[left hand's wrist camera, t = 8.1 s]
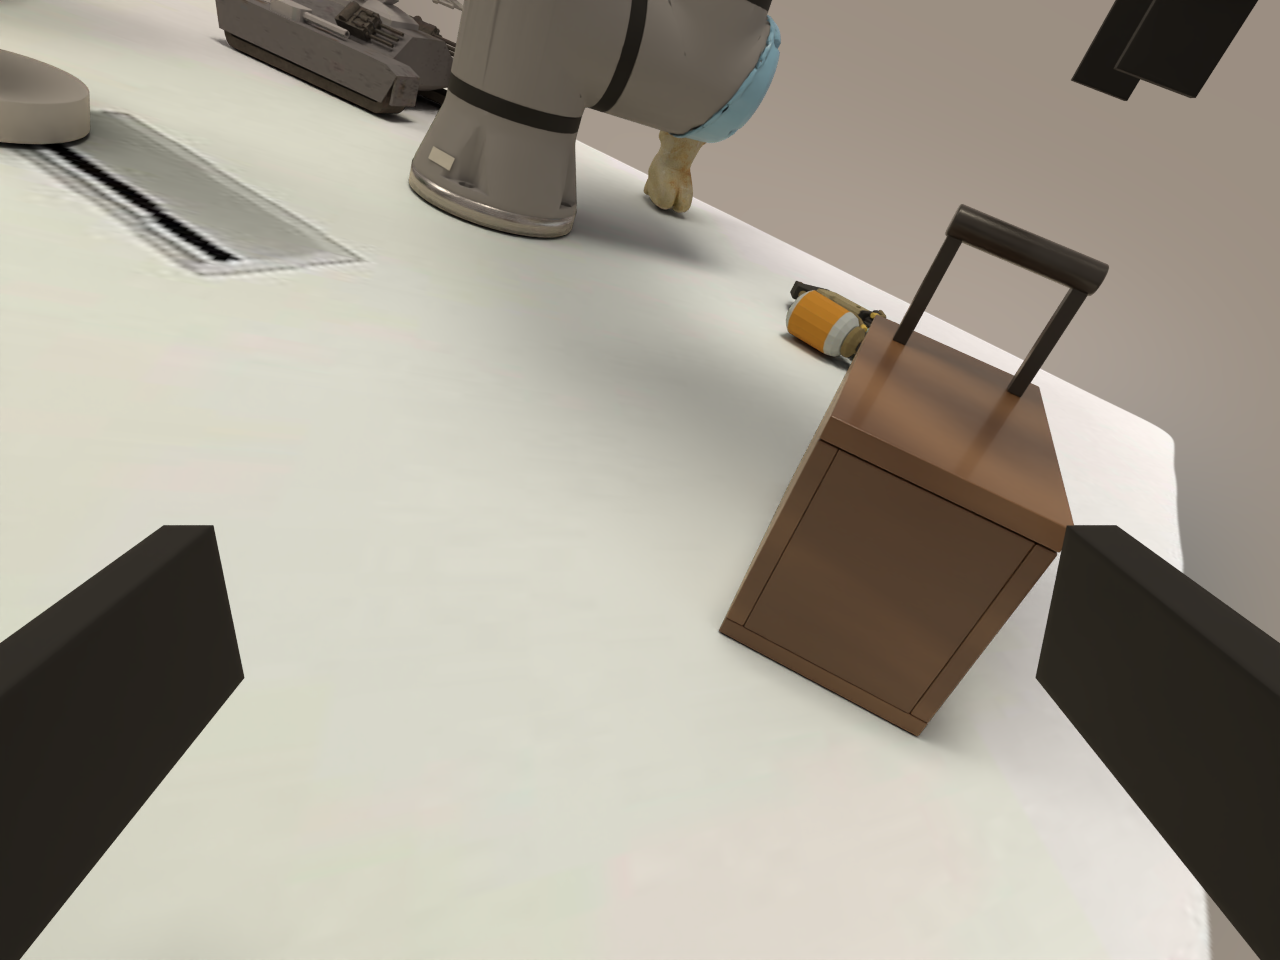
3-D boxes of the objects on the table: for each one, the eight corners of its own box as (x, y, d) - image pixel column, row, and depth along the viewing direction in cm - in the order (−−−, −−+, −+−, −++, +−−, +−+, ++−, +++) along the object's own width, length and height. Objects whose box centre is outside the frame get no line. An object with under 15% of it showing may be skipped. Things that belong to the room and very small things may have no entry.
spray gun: (788, 300, 83) (921, 366, 81) (758, 330, 68) (920, 411, 66) (807, 262, 81) (944, 328, 79) (781, 284, 66) (948, 366, 64)
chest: (788, 484, 48) (865, 335, 43) (932, 554, 46) (1029, 409, 41) (718, 631, 34) (817, 439, 29) (918, 737, 33) (1058, 555, 28)
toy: (211, 38, 92) (218, -116, 84) (335, 51, 109) (350, -76, 101) (389, 121, 87) (413, -34, 79) (489, 121, 104) (517, -7, 96)
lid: (867, 330, 44) (940, 188, 40) (1028, 403, 42) (1121, 263, 38) (818, 438, 29) (925, 232, 25) (1059, 553, 28) (1212, 355, 24)
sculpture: (649, 209, 93) (695, 72, 85) (632, 189, 98) (673, 59, 91) (693, 220, 95) (741, 88, 88) (674, 201, 101) (717, 75, 93)
